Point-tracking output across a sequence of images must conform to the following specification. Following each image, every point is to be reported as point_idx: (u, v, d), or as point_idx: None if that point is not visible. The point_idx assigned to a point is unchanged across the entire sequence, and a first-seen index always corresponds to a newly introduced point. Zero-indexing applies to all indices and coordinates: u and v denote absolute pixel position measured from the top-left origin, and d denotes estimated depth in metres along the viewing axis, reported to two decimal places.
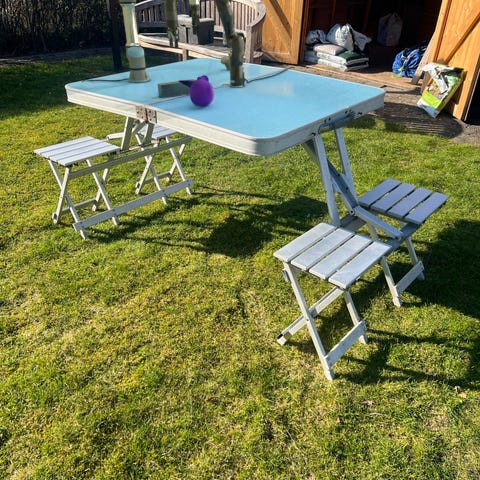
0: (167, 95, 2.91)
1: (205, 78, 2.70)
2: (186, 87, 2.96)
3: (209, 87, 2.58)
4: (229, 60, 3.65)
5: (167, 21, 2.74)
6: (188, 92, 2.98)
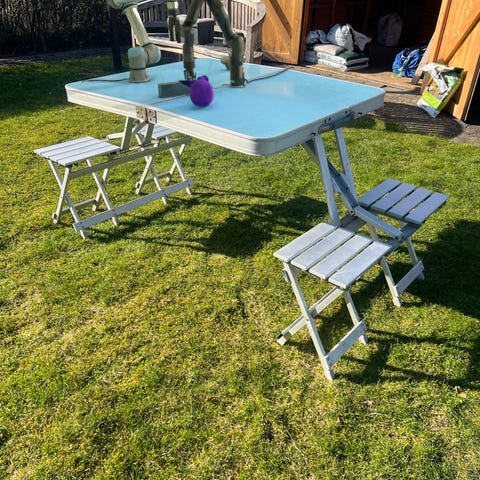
0: (167, 95, 2.91)
1: (205, 78, 2.70)
2: (186, 87, 2.96)
3: (209, 87, 2.58)
4: (229, 60, 3.65)
5: (185, 63, 2.90)
6: (188, 92, 2.98)
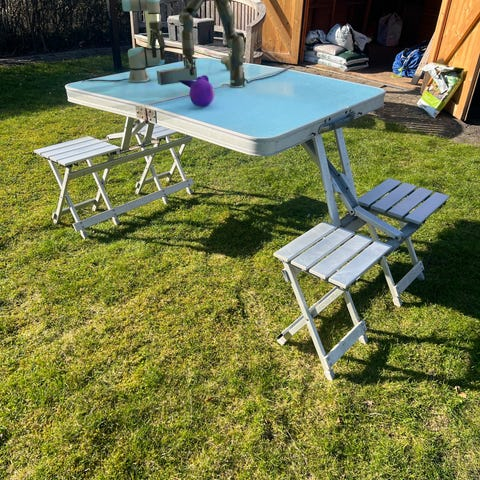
0: (166, 82, 2.87)
1: (205, 78, 2.70)
2: (185, 74, 2.92)
3: (209, 87, 2.58)
4: (229, 60, 3.65)
5: (184, 49, 2.86)
6: (187, 79, 2.94)
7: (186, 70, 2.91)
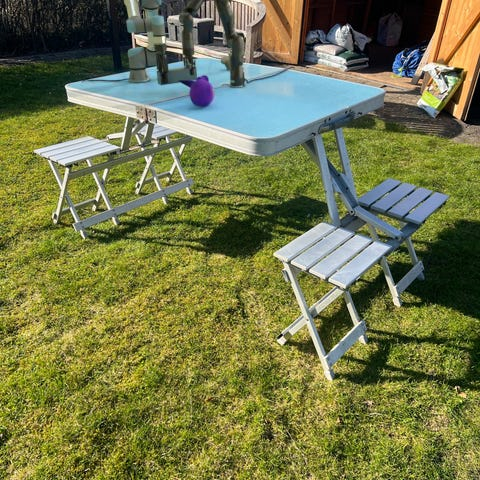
0: None
1: (205, 78, 2.70)
2: (185, 74, 2.92)
3: (209, 87, 2.58)
4: (229, 60, 3.65)
5: (184, 49, 2.86)
6: (187, 79, 2.94)
7: (186, 70, 2.91)
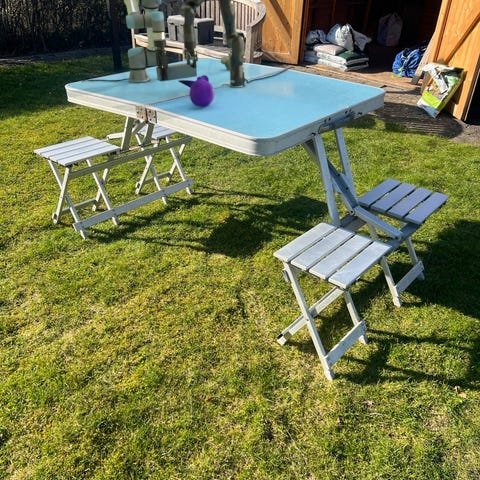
0: None
1: (205, 78, 2.70)
2: (185, 70, 2.91)
3: (209, 87, 2.58)
4: (229, 60, 3.65)
5: (185, 43, 2.85)
6: (187, 76, 2.93)
7: (186, 66, 2.90)
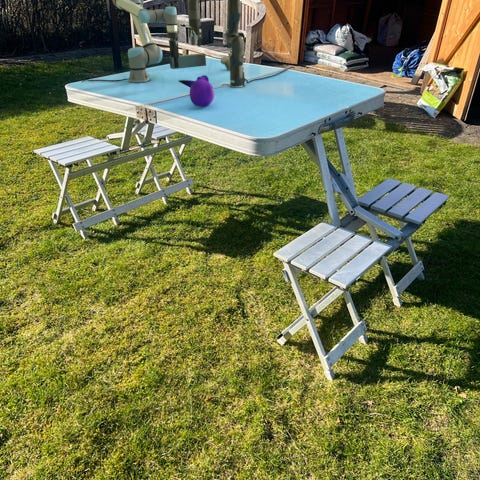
0: None
1: (205, 78, 2.70)
2: (195, 60, 3.25)
3: (209, 87, 2.58)
4: (229, 60, 3.65)
5: (190, 20, 2.80)
6: (197, 65, 3.27)
7: (196, 56, 3.24)
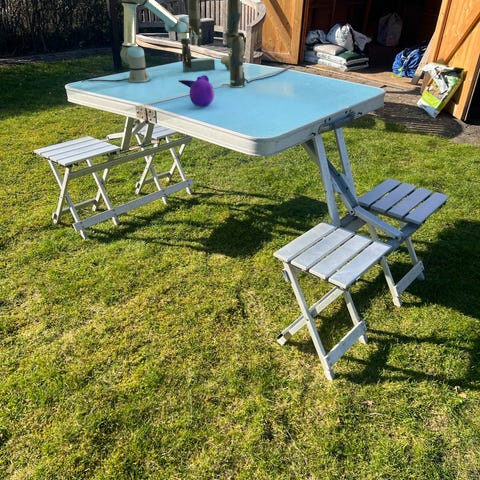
0: (189, 70, 3.68)
1: (205, 78, 2.70)
2: (205, 65, 3.71)
3: (209, 87, 2.58)
4: (229, 60, 3.65)
5: (190, 20, 2.80)
6: (207, 69, 3.73)
7: (206, 61, 3.70)
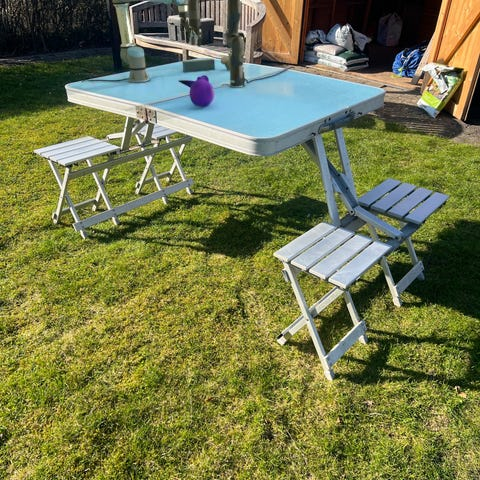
0: (189, 70, 3.68)
1: (205, 78, 2.70)
2: (205, 65, 3.71)
3: (209, 87, 2.58)
4: (229, 60, 3.65)
5: (190, 20, 2.80)
6: (207, 69, 3.73)
7: (206, 61, 3.70)
